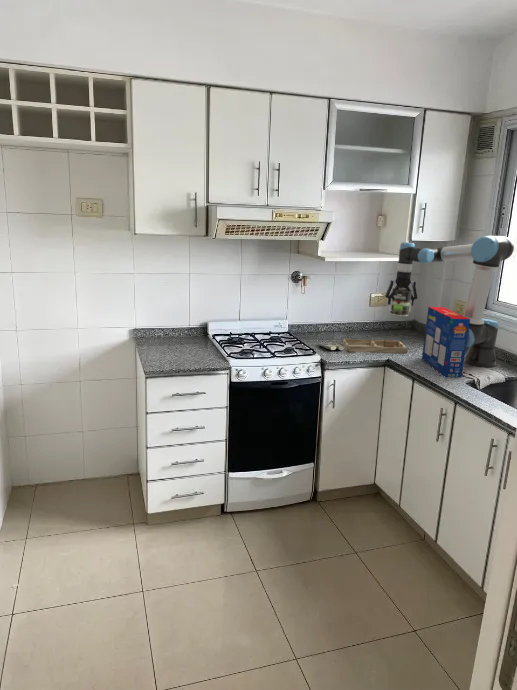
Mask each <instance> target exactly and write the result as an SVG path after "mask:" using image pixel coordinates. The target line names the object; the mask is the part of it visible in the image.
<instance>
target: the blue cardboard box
mask: <svg viewBox="0 0 517 690" xmlns="http://www.w3.org/2000/svg"><path fill="white" fill-rule="evenodd" d="M427 308H428V310H427V317H426V323H425V332H424V340H423V348H422V354H421V355H422V356H421V359H422V361H423V360H424V361H425V362H426V363H425V362H424V361H423V362H424V363H425V364H427V365H428V364H429V365H430V366H429V365H428V366H429V367H431V368H432V367H433V368H434V369H433V368H432V369H433V370H435V371H436V370H437V371H438V372H437V371H436V372H437V373H438V374H440V373H441V374H442V375H441V374H440V375H441V376H443V377H444V376H445V377H444V378H462V376H463V369H464V363H465V361H464V358H465V355H466V349H467V347H466V344H467V337H468V331H469V324H470V319H469V318H466V317H464V316H463V315H462V314H459V313H457V312H455V311H453V310H451V309H448V308H447V307H443V306H428V307H427Z"/></svg>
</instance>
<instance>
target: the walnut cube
mask: <svg viewBox="0 0 517 690" xmlns="http://www.w3.org/2000/svg"><path fill="white" fill-rule="evenodd" d="M383 340H384V346H383V347H394V341H395V340H394V339H383Z"/></svg>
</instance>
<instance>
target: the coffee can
mask: <svg viewBox="0 0 517 690" xmlns="http://www.w3.org/2000/svg"><path fill="white" fill-rule="evenodd" d="M392 291H394V294H393V297H392V298H391V299H392V308H391V311H389V314H390V315H391V316H394V317H395V316H396V317H409V313H410V312H409V306H410V300H411V293H413V289H410V291H408V290H407V289H406V288H399V289H398V290H395V289H394V288H392Z"/></svg>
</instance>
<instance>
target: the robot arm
mask: <svg viewBox="0 0 517 690" xmlns="http://www.w3.org/2000/svg"><path fill="white" fill-rule="evenodd" d="M415 245H416V244H415V243H414V242H401V243H400V247H399V252H398V262H397V271H396V279H395V280H393V279H390V281H389V285H388V288H387V291H386V292H385V296H384V297H385V298H386V299H387V305H388V311H389V312H390V311H391V308H392V297H393V294H394V291H393V289H395V290H398V289H399V288H403V289H407V290H408V291H410V290H411V289H410V287H409V286H410V284H411V286H412V292H411V299H410V306H409V313H411V311H412V307H413V306H414V301H415V300H417V299H418V293H417V287H416V285H417V282H416V281H415V280H411V279H412V269H413V263H414V262H416V263H422V264H430V263H441V262H442V263H443V262H449V261H450V262H453V261H463V260H472V264H473V266H474V270H473V274H472V279H471V281H470V282H471V283H470V287H469V292H468V295H467V299H466V304H465V306H464V311H463V312H464V313H463V315H462V316H464V317H466V318H469V319H470V324H469V331H468V337H467V344H466V348H468V350H467V352H465V357H464V363H466V364H469V365H470V366H471V365H472V366H474V365H475V366H476V367H480V366H483V367H482V368H493V367H496V365H497V358H496V353H495V347H496V343H497V336H498V332H499V322H498V321H496V320H493V319H488V318H483V316H484V312H485V309H486V304H487V300H488V296H489V292H490V290H491V286H492V281H493V277H494V273H495V271H496V270H497V269H498V268H499V269H500V264H501V261H505V260H508V259H509V258H510V257H511V256H512V255H513V253H514V251H515V245H514V242H513V241H512V240H511V239H510V238H509V237H507V236H504V235H485V236H481V237H479V238H477V239H476V240H475V241H473V243H469V244H459V245H453V246H452V245H450V246H442V247H440V246H439V247H416V246H415ZM395 284H396V285H395ZM394 285H395V287H394V288H393V286H394Z"/></svg>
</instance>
